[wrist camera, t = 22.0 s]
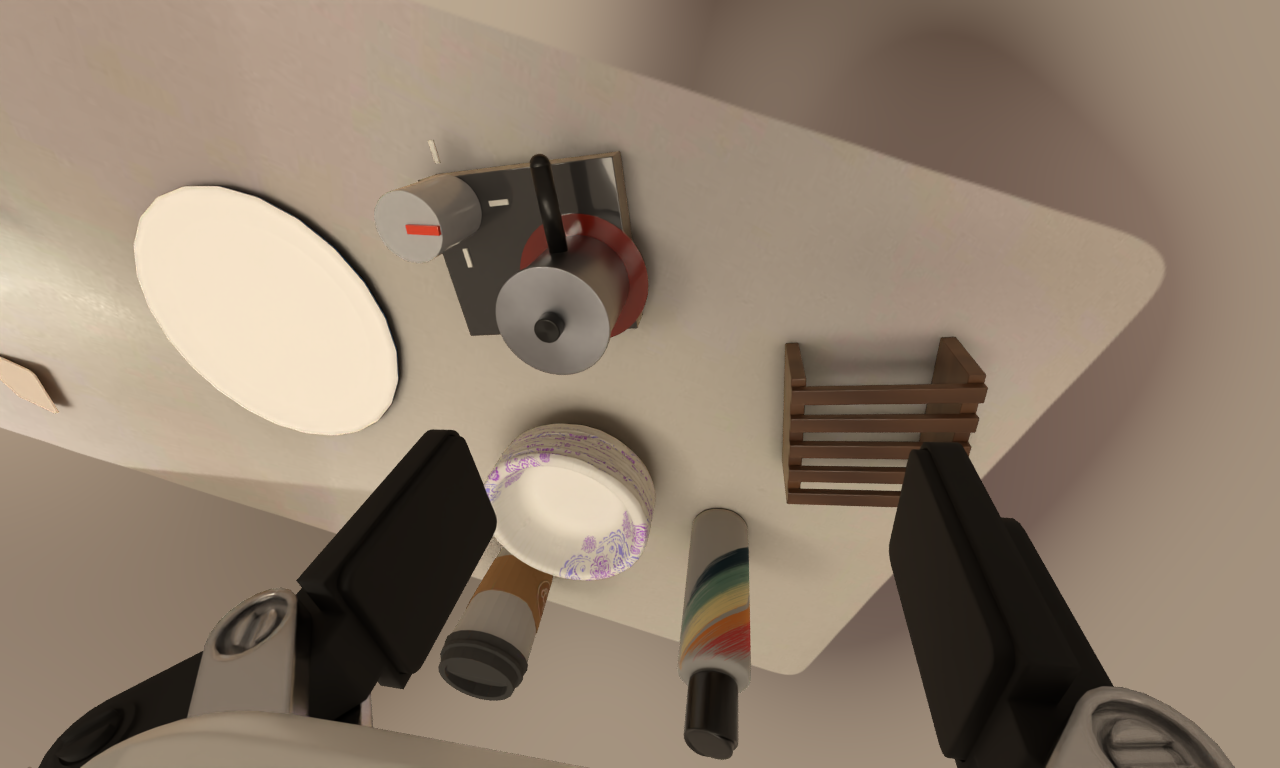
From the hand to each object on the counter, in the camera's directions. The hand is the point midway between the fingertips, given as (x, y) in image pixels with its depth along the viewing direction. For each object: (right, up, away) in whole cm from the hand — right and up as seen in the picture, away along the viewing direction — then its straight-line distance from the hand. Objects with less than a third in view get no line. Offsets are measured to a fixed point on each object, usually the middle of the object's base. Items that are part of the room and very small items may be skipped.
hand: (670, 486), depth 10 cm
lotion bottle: (+8, -12, +40) cm, 43 cm away
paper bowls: (-6, -6, +39) cm, 40 cm away
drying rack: (+17, 0, +30) cm, 34 cm away
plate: (-35, +8, +36) cm, 50 cm away
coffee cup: (-13, -17, +47) cm, 52 cm away
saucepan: (-5, +12, +24) cm, 27 cm away
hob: (-9, +14, +27) cm, 31 cm away
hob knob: (-14, +15, +24) cm, 31 cm away
